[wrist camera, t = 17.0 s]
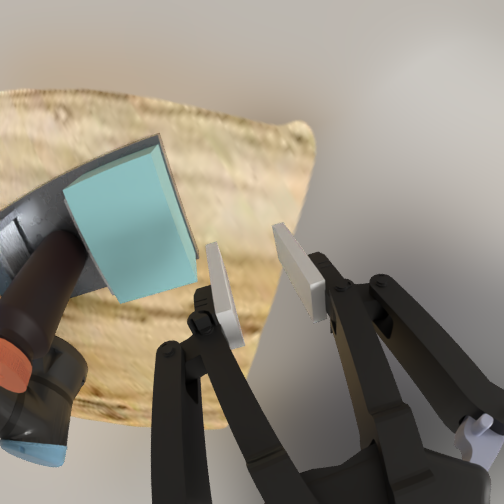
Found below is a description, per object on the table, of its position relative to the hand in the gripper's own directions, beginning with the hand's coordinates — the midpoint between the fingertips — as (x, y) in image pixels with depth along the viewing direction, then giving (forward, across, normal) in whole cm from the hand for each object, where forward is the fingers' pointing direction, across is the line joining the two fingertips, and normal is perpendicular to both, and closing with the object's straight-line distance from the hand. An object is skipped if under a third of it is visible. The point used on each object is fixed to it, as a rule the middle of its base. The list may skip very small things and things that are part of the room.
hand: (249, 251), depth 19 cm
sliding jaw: (+14, -11, 0) cm, 18 cm away
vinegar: (+15, -22, -1) cm, 27 cm away
